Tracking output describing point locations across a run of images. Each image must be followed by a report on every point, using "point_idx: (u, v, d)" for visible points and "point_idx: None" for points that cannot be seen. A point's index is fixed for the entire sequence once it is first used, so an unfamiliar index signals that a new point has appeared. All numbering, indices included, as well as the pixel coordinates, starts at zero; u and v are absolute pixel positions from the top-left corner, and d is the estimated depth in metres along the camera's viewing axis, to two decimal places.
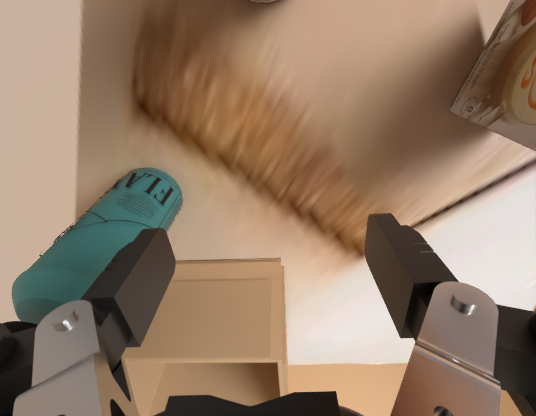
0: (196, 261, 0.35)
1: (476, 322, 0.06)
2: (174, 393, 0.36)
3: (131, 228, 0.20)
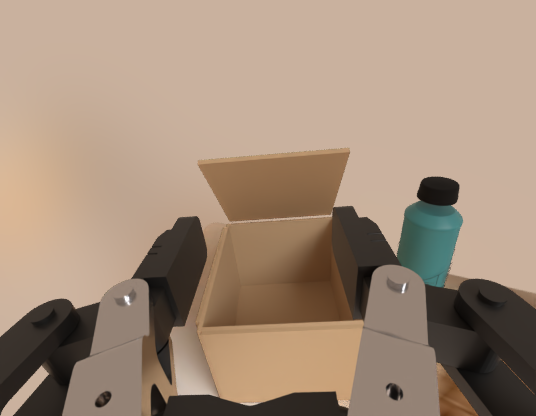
0: None
1: (403, 298, 0.06)
2: (230, 257, 0.40)
3: (450, 259, 0.34)
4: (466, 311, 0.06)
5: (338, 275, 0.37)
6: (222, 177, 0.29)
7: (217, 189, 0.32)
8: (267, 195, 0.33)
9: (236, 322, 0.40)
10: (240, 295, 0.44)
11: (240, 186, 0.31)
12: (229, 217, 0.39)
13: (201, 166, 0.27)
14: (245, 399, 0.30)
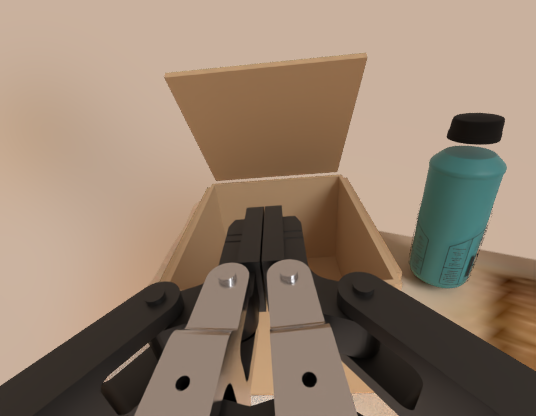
0: None
1: (286, 289, 0.07)
2: (216, 222, 0.33)
3: (487, 219, 0.27)
4: (348, 309, 0.06)
5: (346, 243, 0.31)
6: (199, 103, 0.23)
7: (195, 125, 0.25)
8: (259, 137, 0.27)
9: None
10: None
11: (225, 121, 0.25)
12: (215, 174, 0.32)
13: (169, 81, 0.21)
14: None
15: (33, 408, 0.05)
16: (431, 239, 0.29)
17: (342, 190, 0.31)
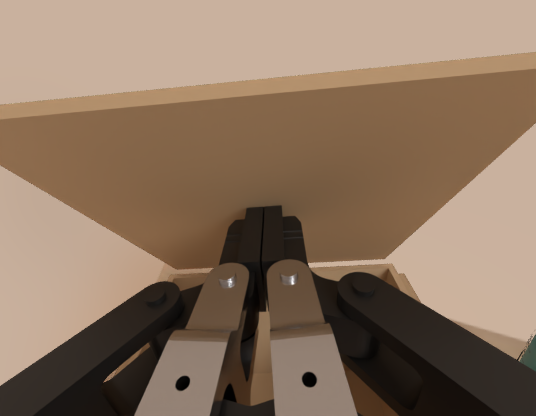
0: None
1: (286, 289, 0.07)
2: None
3: None
4: (348, 309, 0.06)
5: None
6: (83, 180, 0.09)
7: (99, 213, 0.11)
8: None
9: None
10: None
11: (163, 208, 0.11)
12: (172, 264, 0.19)
13: None
14: None
15: (33, 408, 0.05)
16: None
17: None
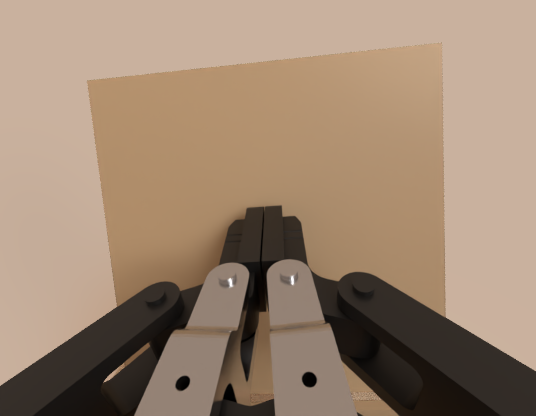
0: None
1: (286, 289, 0.07)
2: None
3: None
4: (348, 309, 0.06)
5: None
6: (134, 140, 0.12)
7: (116, 197, 0.12)
8: None
9: None
10: None
11: (175, 189, 0.12)
12: None
13: (94, 89, 0.12)
14: None
15: (33, 408, 0.05)
16: None
17: None
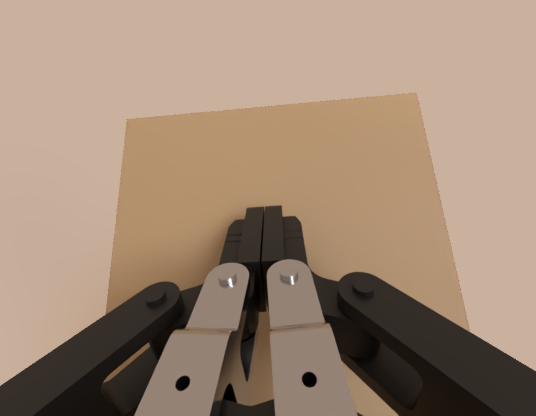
0: None
1: (286, 290, 0.07)
2: None
3: None
4: (348, 309, 0.06)
5: None
6: (156, 163, 0.14)
7: (129, 213, 0.13)
8: None
9: None
10: None
11: (186, 206, 0.13)
12: None
13: (130, 125, 0.14)
14: None
15: (33, 408, 0.05)
16: None
17: None
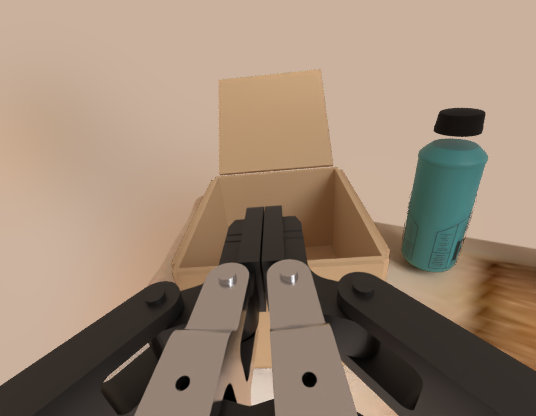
0: None
1: (286, 289, 0.07)
2: (220, 213, 0.35)
3: (472, 206, 0.29)
4: (348, 309, 0.06)
5: (342, 230, 0.33)
6: (231, 94, 0.39)
7: (223, 109, 0.38)
8: (263, 121, 0.37)
9: None
10: None
11: (242, 107, 0.38)
12: (221, 163, 0.36)
13: (220, 81, 0.40)
14: None
15: (33, 408, 0.05)
16: (420, 226, 0.31)
17: (338, 181, 0.33)
